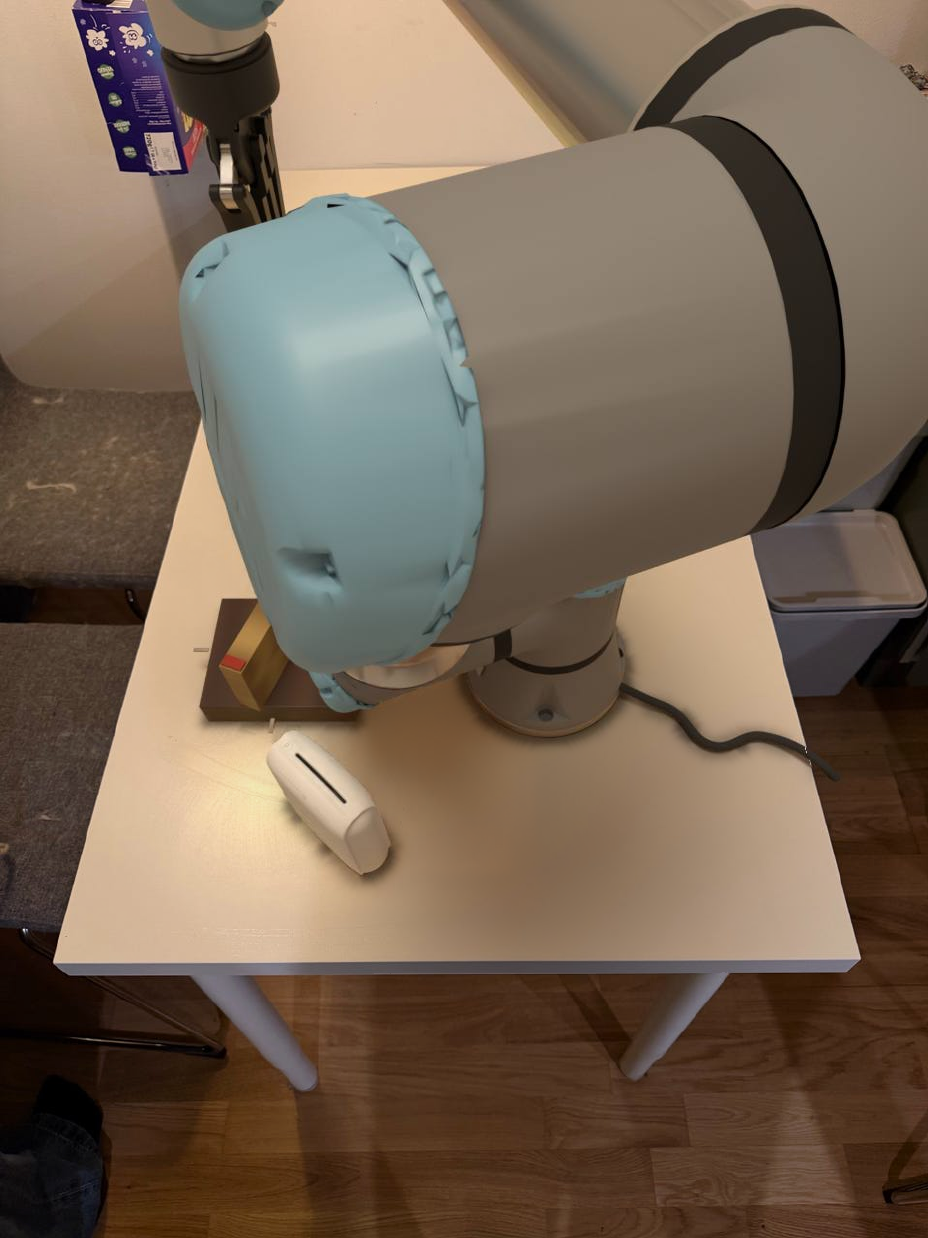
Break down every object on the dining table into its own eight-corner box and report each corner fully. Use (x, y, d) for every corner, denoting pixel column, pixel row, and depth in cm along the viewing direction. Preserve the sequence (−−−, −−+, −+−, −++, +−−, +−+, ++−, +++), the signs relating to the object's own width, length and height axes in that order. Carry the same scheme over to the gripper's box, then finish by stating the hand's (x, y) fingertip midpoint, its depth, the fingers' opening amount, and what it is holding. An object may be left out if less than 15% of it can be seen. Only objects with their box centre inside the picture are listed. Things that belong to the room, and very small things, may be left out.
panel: (383, 593, 86) (380, 575, 84) (370, 747, 77) (366, 732, 74) (218, 593, 87) (209, 575, 84) (186, 746, 78) (175, 732, 75)
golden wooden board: (304, 593, 83) (289, 548, 77) (324, 599, 82) (310, 555, 76) (239, 704, 77) (217, 664, 70) (260, 711, 76) (240, 672, 70)
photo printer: (284, 804, 74) (250, 747, 64) (321, 771, 76) (293, 710, 66) (362, 885, 70) (339, 838, 60) (399, 848, 72) (383, 796, 62)
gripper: (179, -6, 60) (257, 281, 80) (135, 86, 53) (232, 375, 73) (283, -8, 60) (335, 281, 80) (252, 85, 53) (318, 376, 73)
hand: (286, 326), depth 77 cm, fingers closed
